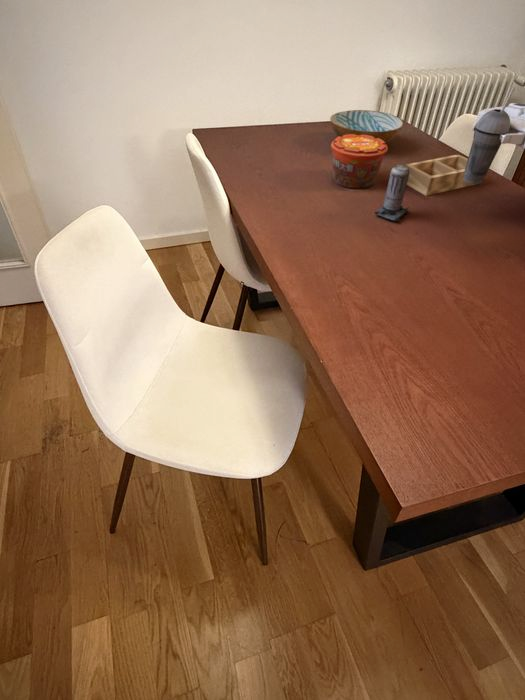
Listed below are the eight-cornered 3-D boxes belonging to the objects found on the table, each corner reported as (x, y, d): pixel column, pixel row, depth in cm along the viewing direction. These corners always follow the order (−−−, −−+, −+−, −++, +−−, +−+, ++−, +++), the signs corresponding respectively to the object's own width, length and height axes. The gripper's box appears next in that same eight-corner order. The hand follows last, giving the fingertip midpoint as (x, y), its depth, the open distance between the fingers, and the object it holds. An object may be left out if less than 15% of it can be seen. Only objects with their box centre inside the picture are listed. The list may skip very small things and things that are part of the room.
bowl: (314, 147, 141) (316, 122, 135) (346, 129, 156) (349, 106, 150) (381, 163, 131) (387, 136, 125) (408, 142, 146) (414, 117, 140)
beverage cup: (461, 172, 103) (494, 80, 89) (491, 179, 100) (529, 85, 86) (453, 181, 99) (486, 87, 85) (483, 189, 96) (523, 92, 82)
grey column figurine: (380, 205, 109) (391, 159, 101) (409, 211, 107) (422, 164, 98) (371, 219, 103) (382, 171, 95) (401, 226, 101) (415, 178, 93)
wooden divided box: (452, 170, 127) (458, 154, 124) (479, 183, 120) (485, 166, 117) (400, 181, 121) (405, 164, 117) (425, 195, 114) (431, 178, 110)
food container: (345, 195, 113) (351, 155, 106) (317, 174, 124) (321, 137, 116) (391, 186, 118) (400, 147, 111) (360, 167, 128) (367, 130, 121)
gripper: (564, 156, 90) (515, 163, 87) (498, 128, 104) (454, 134, 101) (579, 125, 86) (528, 131, 83) (509, 100, 99) (463, 105, 96)
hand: (487, 132), depth 92 cm, fingers closed on beverage cup, 7 cm apart
